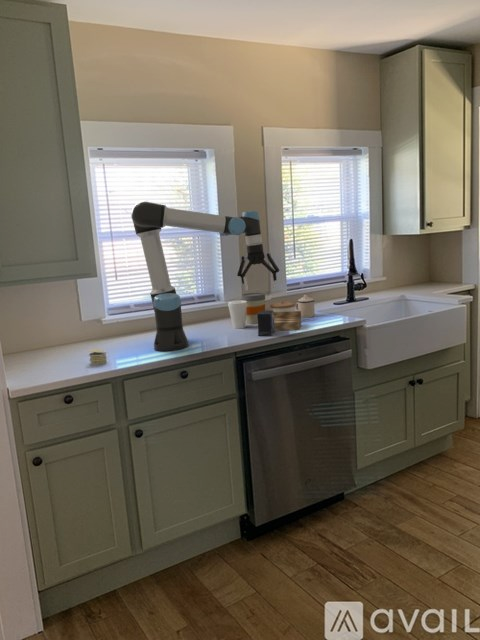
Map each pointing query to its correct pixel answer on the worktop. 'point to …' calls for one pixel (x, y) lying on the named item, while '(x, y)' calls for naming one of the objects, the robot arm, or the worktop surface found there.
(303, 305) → the teacup with lid
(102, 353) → the stacked layers on plate
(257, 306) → the reusable coffee cup
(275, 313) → the dock
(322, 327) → the worktop surface
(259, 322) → the small box
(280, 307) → the lidded bowl
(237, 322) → the foam cup
